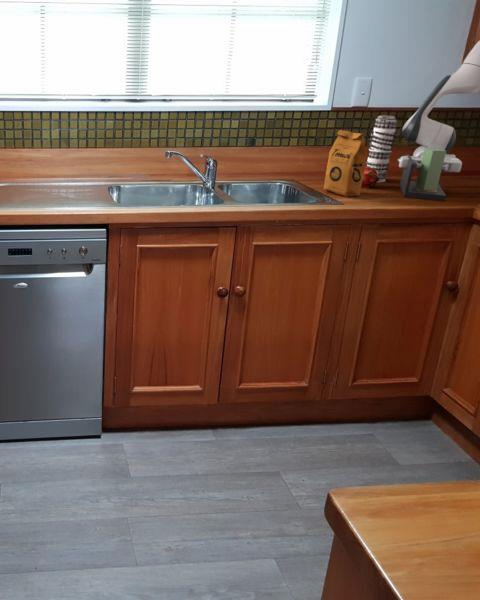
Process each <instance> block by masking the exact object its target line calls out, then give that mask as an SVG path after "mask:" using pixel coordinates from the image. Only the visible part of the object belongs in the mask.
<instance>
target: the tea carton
mask: <svg viewBox="0 0 480 600" xmlns="http://www.w3.org/2000/svg"><path fill="white" fill-rule="evenodd" d="M445 155H446V150H442V149H438V148H425V149H424V153H423V158H422V162H421V164H422V166H421V169H420V170H419V171H418V175H417V178H416V182H417V183H416V187H418V188H420V189H423V190H437V186H438V184H439V182H440V178H441V174H442V172H441V170H442V166H443V162H444V159H445Z"/></svg>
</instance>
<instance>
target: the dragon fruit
mask: <svg viewBox="0 0 480 600" xmlns="http://www.w3.org/2000/svg"><path fill="white" fill-rule="evenodd" d="M379 179H380V178H379V175H377V172H376V170H374V169H372V168H371V167H370V166H367V167H366V165H365V168H364V177H363V181H362V184H361V187H363V188H366V189H368V188H371V186H376V185H377V184H378V182H377V181H379Z"/></svg>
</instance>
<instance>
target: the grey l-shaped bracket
mask: <svg viewBox="0 0 480 600" xmlns="http://www.w3.org/2000/svg"><path fill="white" fill-rule="evenodd" d="M406 156H408V158H409V160H408V165H407V168H402V174H401V178H400V183H399V187H400V190H401V193H402V192H403V193H402V195H404V196H403V198H407V197H410V198H409V199H417V198H421V200H429V201H439V202H446V198H447V195H446V193H445V192H444V190H443V189H442V187H441V185H440V184H439V183H438V186H437V190H423V189H420V188H418V187H416V183H417V181H413V180H412V178H413V173H414V170H415V169H414V165H415V164H414V162H413V160H412V158H411V156H412V155H410V154H406Z"/></svg>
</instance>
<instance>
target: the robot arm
mask: <svg viewBox="0 0 480 600" xmlns="http://www.w3.org/2000/svg"><path fill="white" fill-rule="evenodd" d="M479 91H480V40H478V41H477V42H476V43H475V45H473V47H472V49H470V51H469V53H468V54H467V55H466V57H465V58H464V60H463V62H462V64H461V65H460V67H459V68H458V69H457V70H456V71H455V72H453V73H452V74H449V75H446V76H444V77H443V78H442V79H441V80H440V81H439V82H438V83H437V84H436V86H435V87H434V88H433V89H432V90H431V92H430V94H429V95H428V96H427V97H426V98H425V100H424V101H423V102H422V104H421V105H420V106H419V107H418V108H417V109H416V111H415V112H414V113H413V115H411V116H410V117H409V118H408V120H407V121H406V122H405V123H404V125H403V126H402V130H401V134H402V136H403V139H404V140H405V141H408V142H411V143H416V144H417V145H420V146H419V147H417V148H416V149H415V150H414V152H413V154H412V155H410V156H411V158H412V160H413V162H414V164H415V165H414V169H413V170H416V171H418V172H419V170H420V169H421V166H422V164H421V162H422V158H423V153H424V149H425V148H438V149H442V150H446V155H445V159H444V162H443V166H442V170H441V173H460V172H461V170H462V165H463V161H462V160H461V159H459V158H457V157H456V155H455V154H453V153H450V151H451V150H452V148H453V146H454V144H455V142H456V139H457V134H456V133H457V132H456V130H455V128H454V127H453V126H450V125H448V124H445V123H443V122H439V121H437V120H434V119H431V118H429V117H428V115H429V114H430V112H431V111H432V110H433V109H434V107H435V106H436V105H437V104H438V102H439V101H440V99H442V98H443V97H444V96H448V95H453V94H456V95H457V94H458V95H459V94H472V93H476V92H479ZM408 160H409V158H408V156H407V155H402V156H400V158H398V159H397V162H398V168H400V169H404V168H407V165H408Z"/></svg>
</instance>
